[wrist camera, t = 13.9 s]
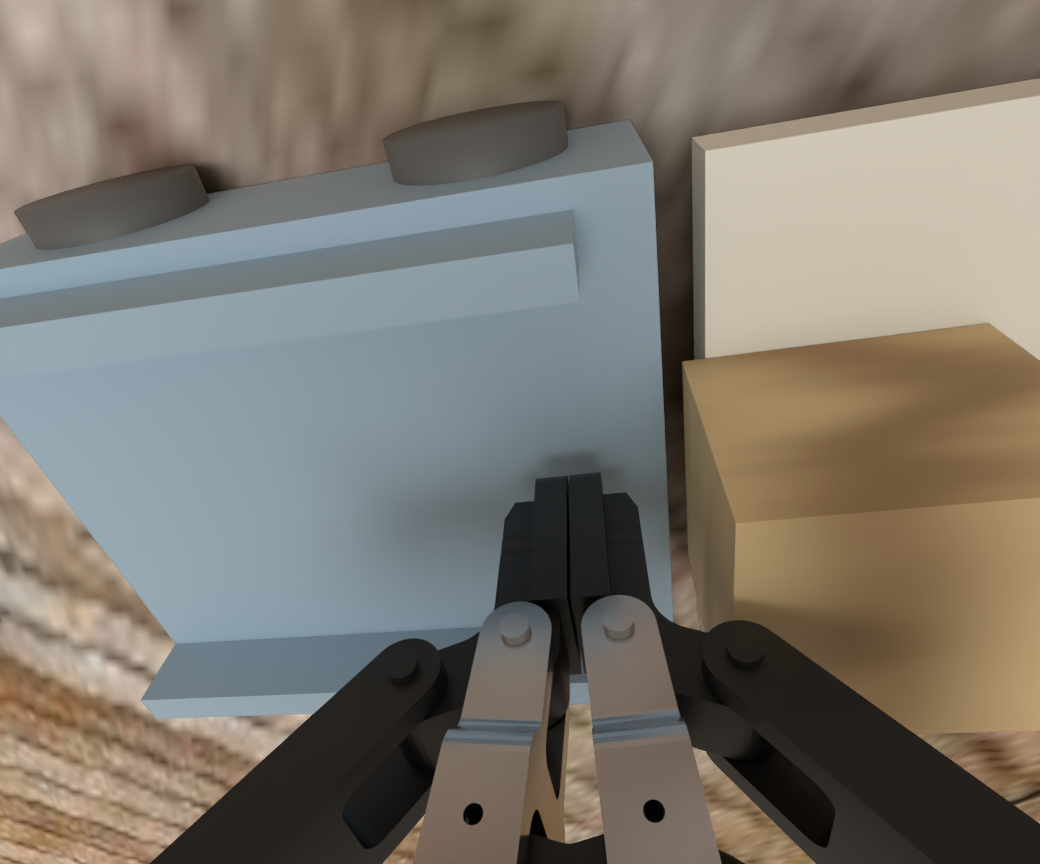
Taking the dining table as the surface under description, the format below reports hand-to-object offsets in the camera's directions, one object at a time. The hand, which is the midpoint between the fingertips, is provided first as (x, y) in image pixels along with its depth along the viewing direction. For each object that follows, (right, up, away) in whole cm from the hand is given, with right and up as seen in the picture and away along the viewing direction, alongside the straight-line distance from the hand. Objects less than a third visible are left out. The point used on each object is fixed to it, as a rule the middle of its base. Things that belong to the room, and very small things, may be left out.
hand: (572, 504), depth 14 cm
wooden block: (+6, +1, 0) cm, 6 cm away
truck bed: (-5, +3, +6) cm, 8 cm away
